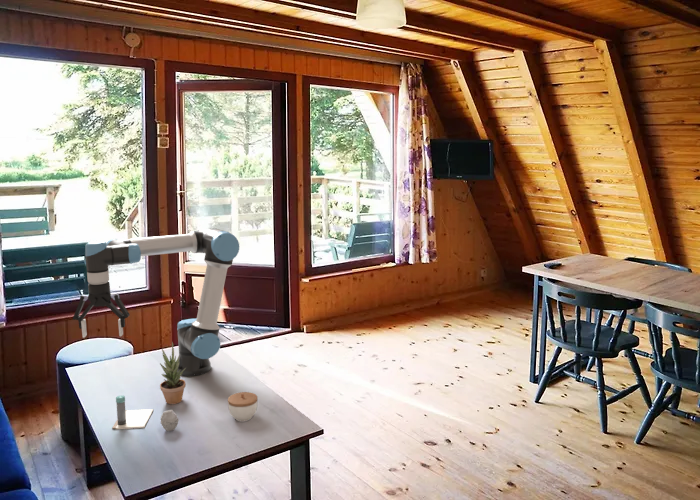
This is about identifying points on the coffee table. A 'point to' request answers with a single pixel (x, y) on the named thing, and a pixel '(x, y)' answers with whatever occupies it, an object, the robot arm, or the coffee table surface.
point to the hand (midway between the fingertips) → (103, 336)
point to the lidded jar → (242, 405)
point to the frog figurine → (169, 420)
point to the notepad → (135, 419)
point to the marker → (121, 410)
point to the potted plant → (172, 380)
